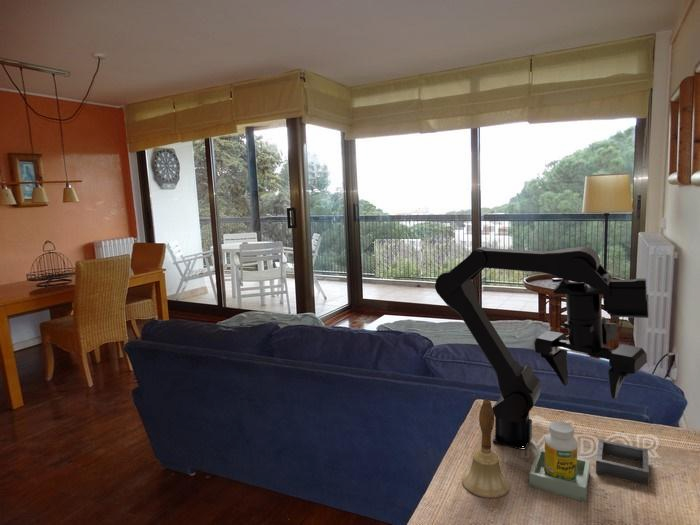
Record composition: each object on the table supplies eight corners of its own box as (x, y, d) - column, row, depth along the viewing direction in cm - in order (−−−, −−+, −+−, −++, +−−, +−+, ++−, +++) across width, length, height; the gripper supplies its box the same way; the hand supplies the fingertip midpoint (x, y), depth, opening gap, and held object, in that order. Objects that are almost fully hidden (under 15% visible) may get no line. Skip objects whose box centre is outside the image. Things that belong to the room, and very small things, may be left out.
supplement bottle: (564, 465, 87) (566, 417, 86) (583, 483, 82) (585, 432, 81) (538, 469, 87) (539, 421, 85) (555, 487, 81) (556, 436, 80)
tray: (529, 486, 83) (529, 473, 82) (538, 460, 90) (538, 448, 90) (585, 501, 78) (585, 488, 78) (589, 472, 86) (590, 460, 85)
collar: (595, 472, 86) (596, 460, 85) (598, 450, 92) (599, 439, 92) (648, 485, 81) (648, 472, 81) (646, 461, 88) (647, 449, 88)
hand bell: (510, 473, 87) (510, 392, 84) (509, 502, 79) (510, 414, 76) (464, 466, 90) (463, 388, 87) (459, 493, 82) (458, 408, 79)
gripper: (657, 308, 84) (660, 387, 87) (558, 296, 99) (563, 364, 102) (631, 329, 78) (635, 413, 81) (529, 313, 92) (535, 384, 96)
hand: (589, 391), depth 90 cm, fingers open, 9 cm apart
